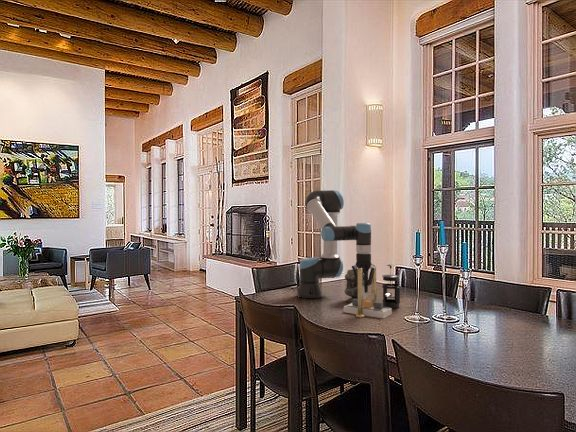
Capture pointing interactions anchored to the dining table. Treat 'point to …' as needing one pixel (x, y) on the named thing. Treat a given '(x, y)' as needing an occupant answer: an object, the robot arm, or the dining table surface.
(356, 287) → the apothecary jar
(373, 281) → the candlestick
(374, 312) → the panel
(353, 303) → the paddle near base
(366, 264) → the robot arm
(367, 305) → the paddle mid
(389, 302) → the black lantern
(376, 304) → the paddle far
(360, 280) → the candlestick
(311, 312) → the dining table surface
